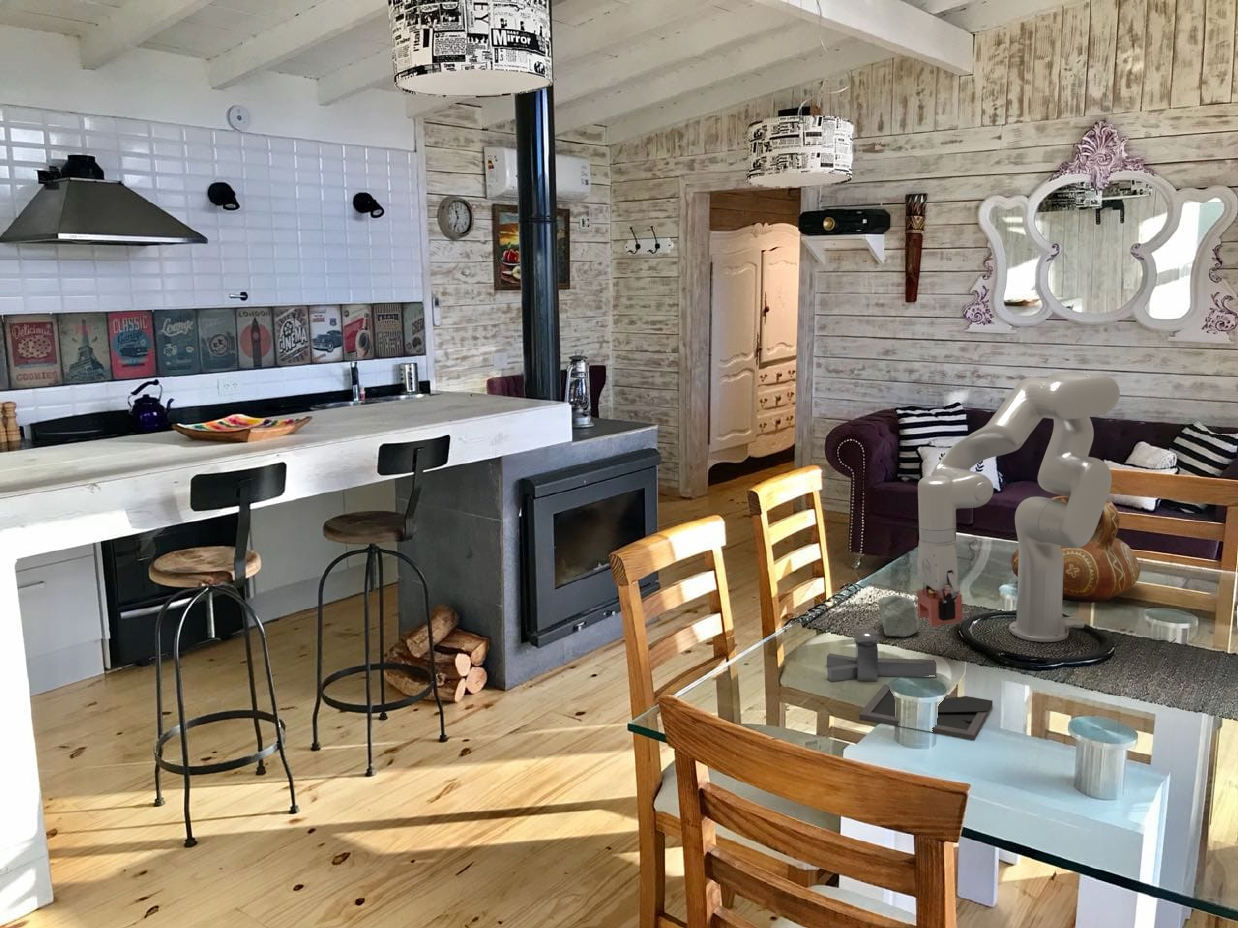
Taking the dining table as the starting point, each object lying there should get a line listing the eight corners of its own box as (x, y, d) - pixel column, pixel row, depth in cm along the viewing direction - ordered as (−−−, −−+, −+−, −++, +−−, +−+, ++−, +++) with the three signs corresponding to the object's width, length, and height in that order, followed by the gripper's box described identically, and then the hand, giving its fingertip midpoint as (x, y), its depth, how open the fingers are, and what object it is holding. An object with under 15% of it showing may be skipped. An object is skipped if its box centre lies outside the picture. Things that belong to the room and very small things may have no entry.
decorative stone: (910, 644, 234) (929, 605, 236) (865, 622, 238) (884, 584, 240) (909, 653, 246) (927, 616, 248) (866, 632, 250) (885, 595, 252)
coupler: (932, 666, 221) (933, 625, 220) (938, 684, 212) (939, 642, 210) (826, 663, 225) (826, 623, 223) (827, 681, 215) (827, 640, 214)
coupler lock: (947, 611, 229) (946, 582, 227) (962, 621, 222) (961, 591, 221) (917, 616, 227) (917, 586, 226) (931, 626, 221) (930, 595, 220)
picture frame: (992, 710, 200) (884, 691, 211) (992, 700, 200) (884, 682, 211) (973, 743, 187) (859, 721, 197) (974, 733, 186) (859, 711, 197)
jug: (989, 592, 269) (992, 497, 264) (1045, 567, 288) (1048, 478, 284) (1106, 617, 247) (1111, 515, 242) (1158, 589, 266) (1164, 493, 261)
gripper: (902, 526, 229) (905, 603, 232) (940, 547, 212) (942, 630, 216) (934, 522, 230) (936, 599, 234) (974, 542, 213) (976, 624, 217)
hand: (939, 613), depth 225 cm, fingers closed on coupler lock, 6 cm apart
